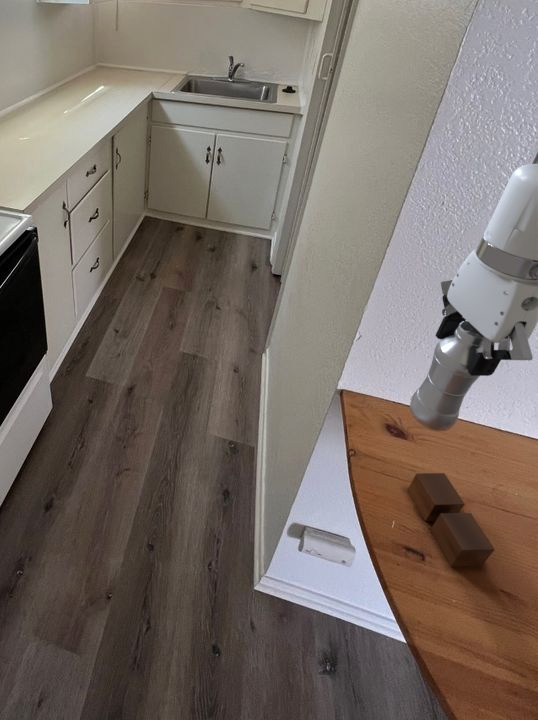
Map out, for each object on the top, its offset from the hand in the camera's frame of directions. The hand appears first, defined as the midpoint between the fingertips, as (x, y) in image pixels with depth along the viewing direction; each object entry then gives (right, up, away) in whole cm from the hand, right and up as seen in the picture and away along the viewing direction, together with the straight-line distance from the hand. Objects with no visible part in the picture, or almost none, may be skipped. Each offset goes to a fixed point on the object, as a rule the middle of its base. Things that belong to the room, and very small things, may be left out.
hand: (461, 354), depth 65 cm
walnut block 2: (0, -30, +1) cm, 30 cm away
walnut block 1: (-1, -27, +6) cm, 28 cm away
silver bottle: (0, -13, +7) cm, 15 cm away
